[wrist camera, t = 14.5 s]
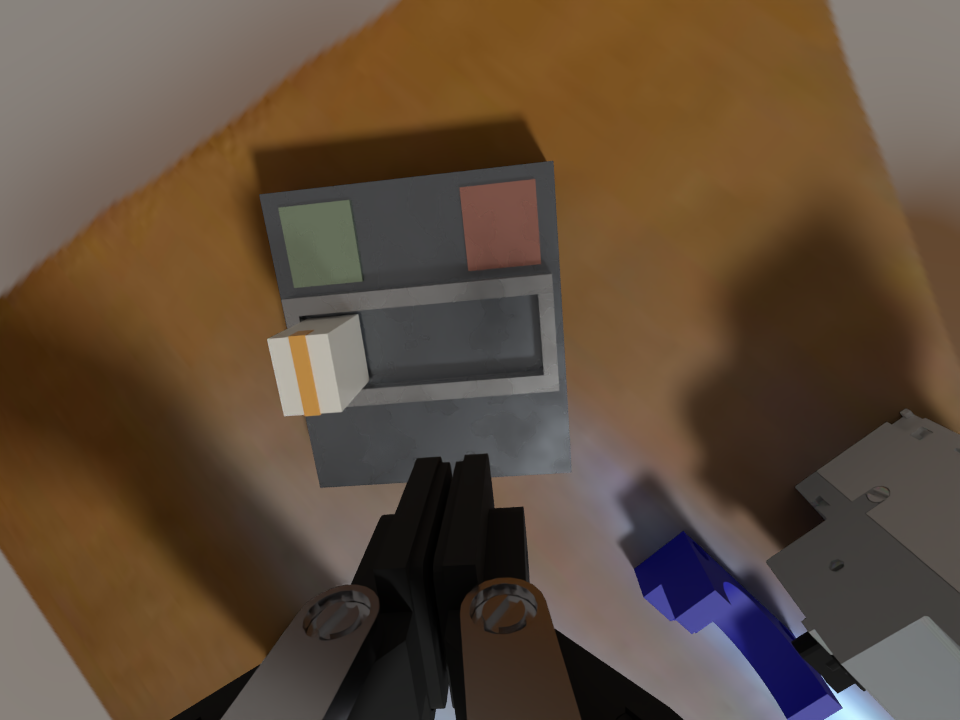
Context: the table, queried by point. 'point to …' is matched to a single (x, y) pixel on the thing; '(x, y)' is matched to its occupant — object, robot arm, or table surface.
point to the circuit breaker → (884, 570)
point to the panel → (434, 318)
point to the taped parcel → (319, 365)
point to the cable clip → (734, 623)
